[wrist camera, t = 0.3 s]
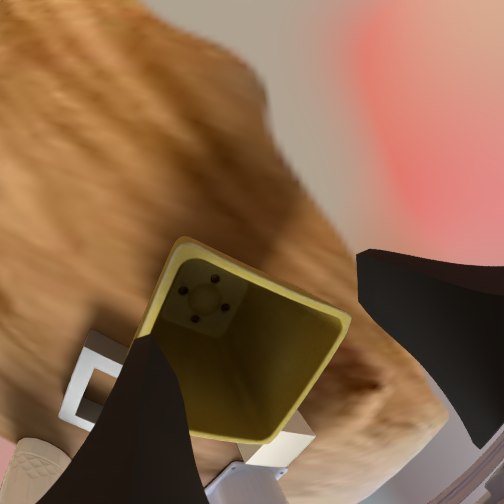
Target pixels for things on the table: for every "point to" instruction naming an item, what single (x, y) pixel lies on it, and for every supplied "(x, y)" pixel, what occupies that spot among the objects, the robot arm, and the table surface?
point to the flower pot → (238, 342)
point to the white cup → (32, 471)
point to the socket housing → (91, 356)
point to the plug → (280, 445)
